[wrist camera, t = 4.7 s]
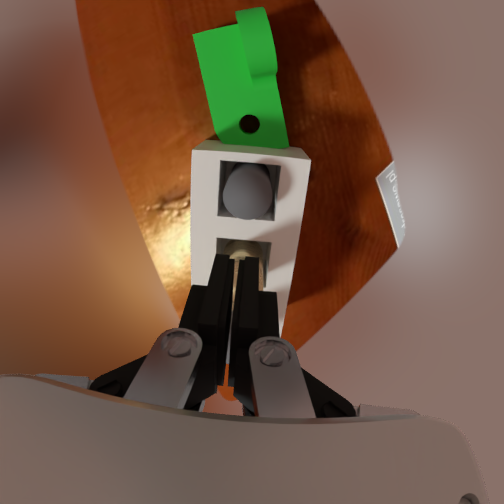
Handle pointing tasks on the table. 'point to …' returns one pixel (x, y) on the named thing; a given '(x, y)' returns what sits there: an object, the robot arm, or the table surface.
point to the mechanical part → (242, 80)
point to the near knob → (248, 190)
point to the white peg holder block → (260, 229)
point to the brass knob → (239, 251)
